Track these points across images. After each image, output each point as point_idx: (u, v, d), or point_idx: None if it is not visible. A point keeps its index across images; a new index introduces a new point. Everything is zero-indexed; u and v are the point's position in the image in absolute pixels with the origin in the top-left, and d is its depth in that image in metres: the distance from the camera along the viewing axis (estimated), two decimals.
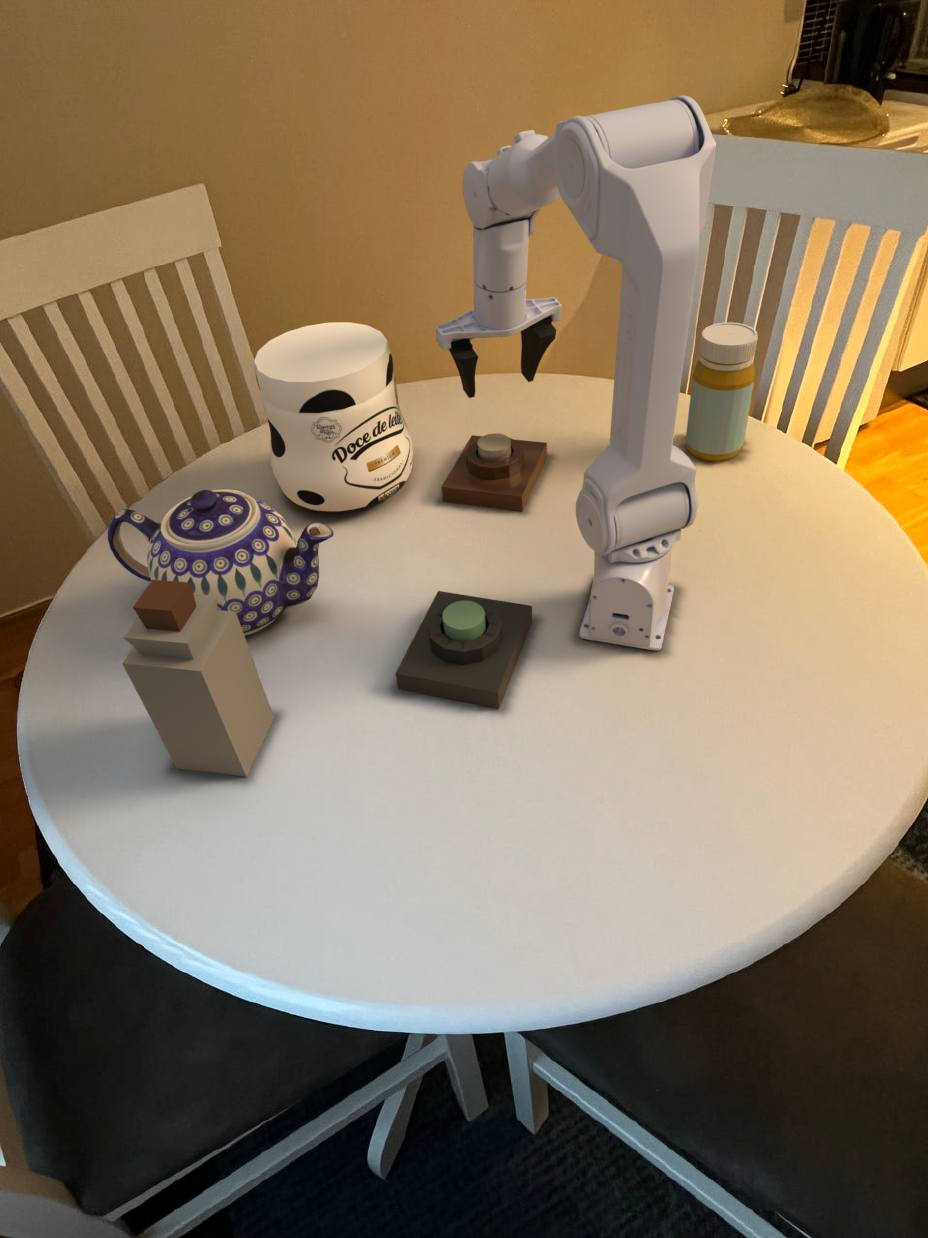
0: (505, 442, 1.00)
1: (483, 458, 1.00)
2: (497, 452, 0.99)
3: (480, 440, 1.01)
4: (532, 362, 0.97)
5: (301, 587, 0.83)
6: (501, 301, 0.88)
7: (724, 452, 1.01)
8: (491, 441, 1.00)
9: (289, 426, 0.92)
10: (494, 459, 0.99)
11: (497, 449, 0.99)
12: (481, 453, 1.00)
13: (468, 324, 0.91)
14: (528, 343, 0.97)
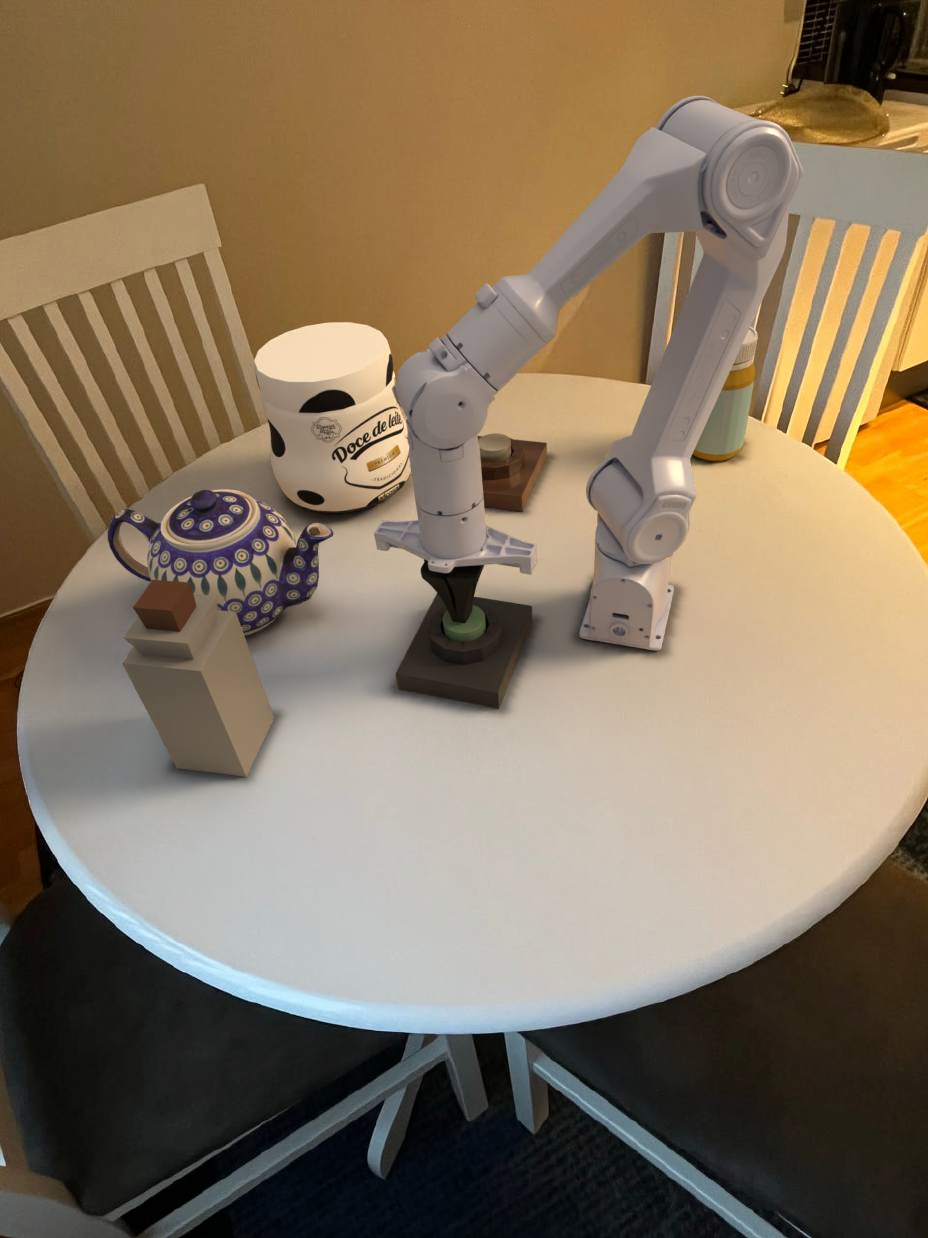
0: (505, 442, 1.00)
1: (483, 458, 1.00)
2: (497, 452, 0.99)
3: (480, 440, 1.01)
4: None
5: (301, 587, 0.83)
6: None
7: (724, 452, 1.01)
8: (491, 441, 1.00)
9: (289, 426, 0.92)
10: (494, 459, 0.99)
11: (497, 449, 0.99)
12: (481, 453, 1.00)
13: (495, 544, 0.71)
14: None
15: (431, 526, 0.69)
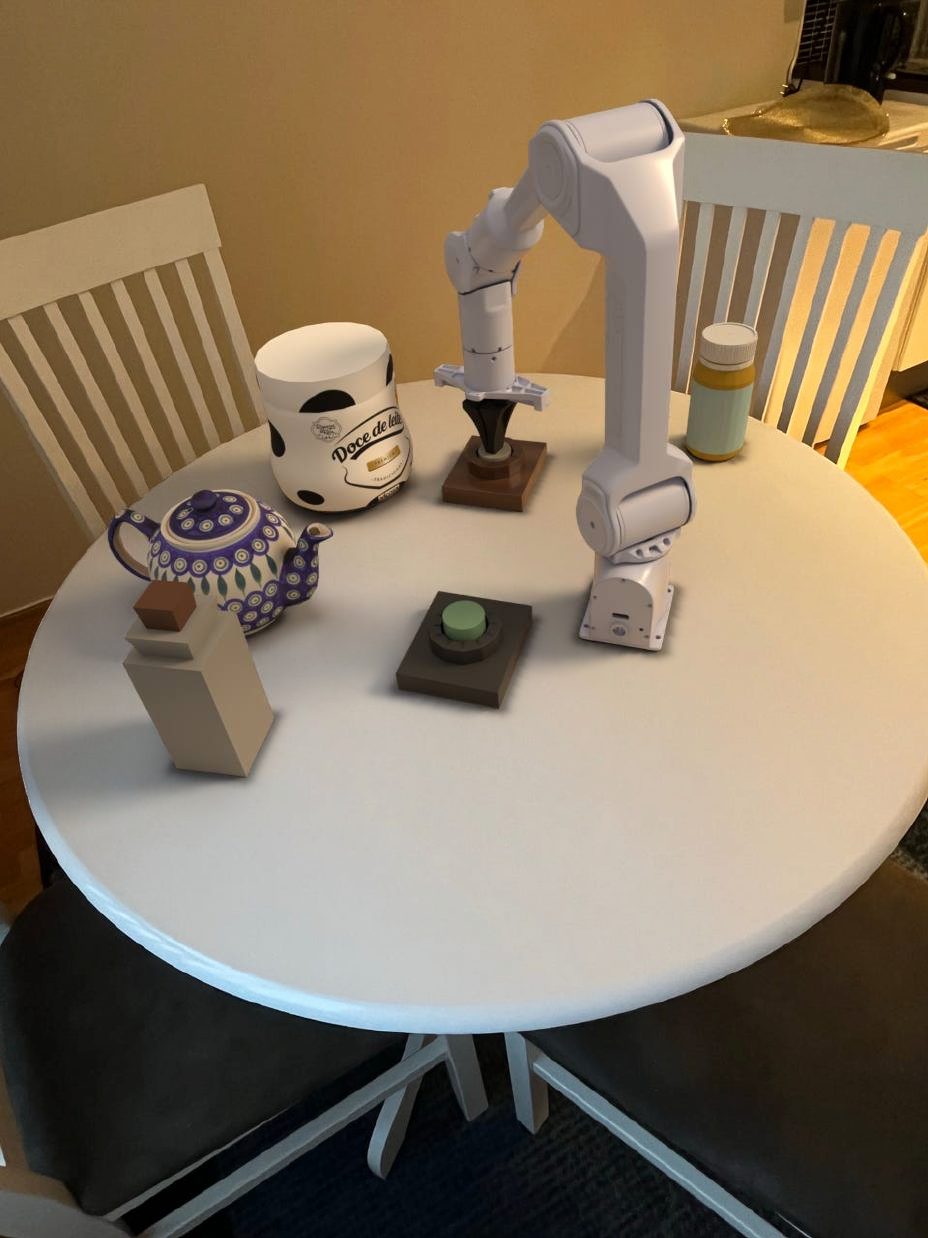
0: (505, 450, 1.00)
1: None
2: (498, 460, 1.00)
3: (480, 447, 1.01)
4: None
5: (301, 587, 0.83)
6: None
7: (724, 452, 1.01)
8: None
9: (289, 426, 0.92)
10: None
11: (498, 456, 0.99)
12: None
13: (519, 386, 0.93)
14: None
15: (470, 362, 0.91)
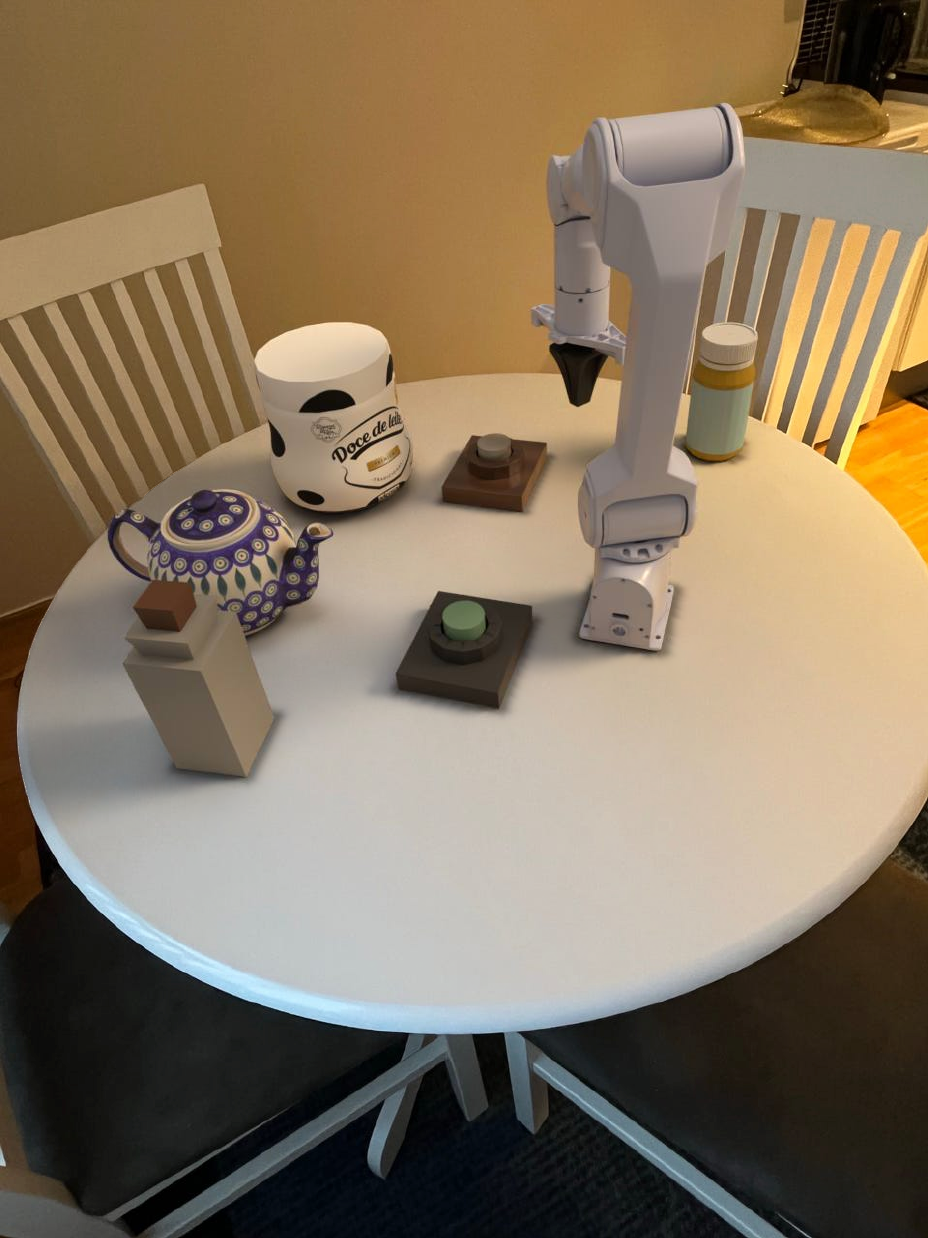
0: (505, 442, 1.00)
1: (483, 458, 1.00)
2: (497, 452, 0.99)
3: (480, 440, 1.01)
4: None
5: (301, 587, 0.83)
6: None
7: (724, 452, 1.01)
8: (491, 441, 1.00)
9: (289, 426, 0.92)
10: (494, 460, 0.99)
11: (497, 449, 0.99)
12: (481, 453, 1.00)
13: (606, 335, 0.87)
14: None
15: (557, 301, 0.86)
